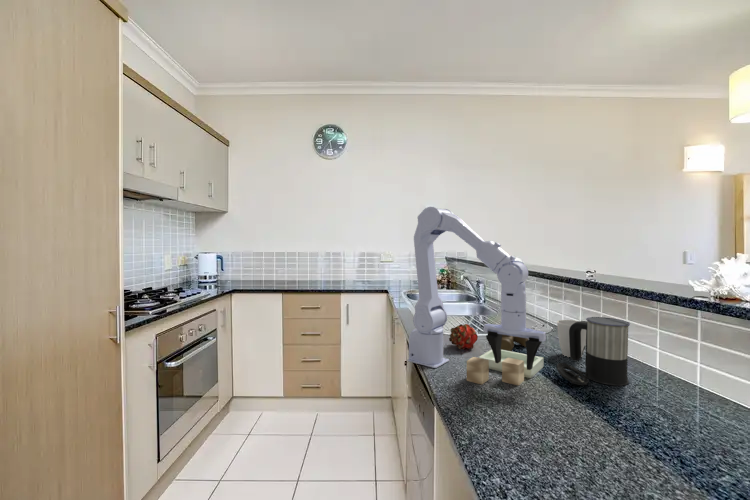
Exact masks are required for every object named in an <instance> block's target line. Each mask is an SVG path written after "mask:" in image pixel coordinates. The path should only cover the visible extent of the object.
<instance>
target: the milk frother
mask: <svg viewBox="0 0 750 500" xmlns="http://www.w3.org/2000/svg"><path fill="white" fill-rule="evenodd" d="M577 321H578V322H575V323H574V324H572V325H571V327H570V329H569V343H570V357H571V358H570V359H571V360H572V361H575V362H576V361H580V360H581V359H582V358H581V330H582V329H585V330H586V346H585V359H584V360H585V361H584V362H585V364H584V366H585V372H584V371H582V370H580V369H578V368H576V367H575V366H572V365H569V364H567V363H565V362H559V363H557V364H556V370H557V371H558V373H559V375H560V376H561V377H563V379H565V380H567V381H569V382H570V383H571V384H572V385H574V384H575V385H579V386H586V385H588V384H589V380H591V381H593V382H596V383H600V384H603V385H610V386H616V387H617V386H621V387H622V386H626V385H628V384H629V378H628V351H629V326H630V324H631V322H628V321H627V320H624V319H619V318H614V317H613V318H612V317H605V316H604V317H603V316H589V317H586V318H585V320H577Z"/></svg>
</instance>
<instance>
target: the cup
mask: <svg viewBox="0 0 750 500" xmlns="http://www.w3.org/2000/svg"><path fill="white" fill-rule="evenodd" d="M578 321H579V320H575V319H574V320H573V319H561V320H557V322H556V325H557V338H558V342H559V347H560V350H561V354H562V356H563V355H564V357H565V356H567V357H566V358H569V357H570V343H569V329H570V327H571V325H572V324H574V323H575V322H578ZM585 351H586V330H585V329H582V330H581V357H582V358H583V355H584V353H585Z"/></svg>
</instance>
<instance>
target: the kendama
mask: <svg viewBox="0 0 750 500" xmlns="http://www.w3.org/2000/svg"><path fill="white" fill-rule="evenodd" d="M527 340H529V339H528V338H521V337H515V336H509V335H502V342H501V350H506V351H512V352H513V349H514V348H515V347H514V346H515V343H516V344H519V346H522V347H523V346H524V348H526V344H525V342H526V341H527Z"/></svg>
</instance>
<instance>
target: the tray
mask: <svg viewBox="0 0 750 500" xmlns="http://www.w3.org/2000/svg"><path fill="white" fill-rule="evenodd" d="M477 358H481V359H486V360H489V370H493V371H498V372H501V373H502V361H504V360H505V359H506V358H513V359H518V360H523V361H524V378H528V379H533V377H534V376H535V375H536V374H537V373H539V372H540V371H541V370H542V369H543V368H544V364H545V362H544V360H545V359H544V357H542V356H537V355H535V358H534V362H533V367H532V369H531V370H527V353H521V352H516V351H513V350H512V351H506V350H501V362H499V363H495V358H494V354H493V351H492V348H491V349H490V350H488V351H485V353H483V354H482V355H480V356H478V357H477Z"/></svg>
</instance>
